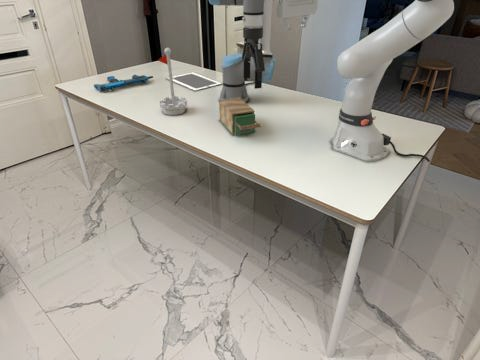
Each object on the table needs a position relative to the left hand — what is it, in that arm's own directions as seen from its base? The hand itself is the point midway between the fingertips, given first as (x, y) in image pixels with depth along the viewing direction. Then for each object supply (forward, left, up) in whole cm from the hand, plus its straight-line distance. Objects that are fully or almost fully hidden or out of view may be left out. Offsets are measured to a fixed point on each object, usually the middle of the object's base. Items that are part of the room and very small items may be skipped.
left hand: (252, 83), depth 138 cm
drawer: (0, -5, -20) cm, 21 cm away
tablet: (-74, -30, -21) cm, 82 cm away
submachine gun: (-72, -73, -21) cm, 105 cm away
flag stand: (-25, -37, -21) cm, 49 cm away
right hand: (-7, +18, +19) cm, 27 cm away
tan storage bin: (-6, -7, -21) cm, 23 cm away
